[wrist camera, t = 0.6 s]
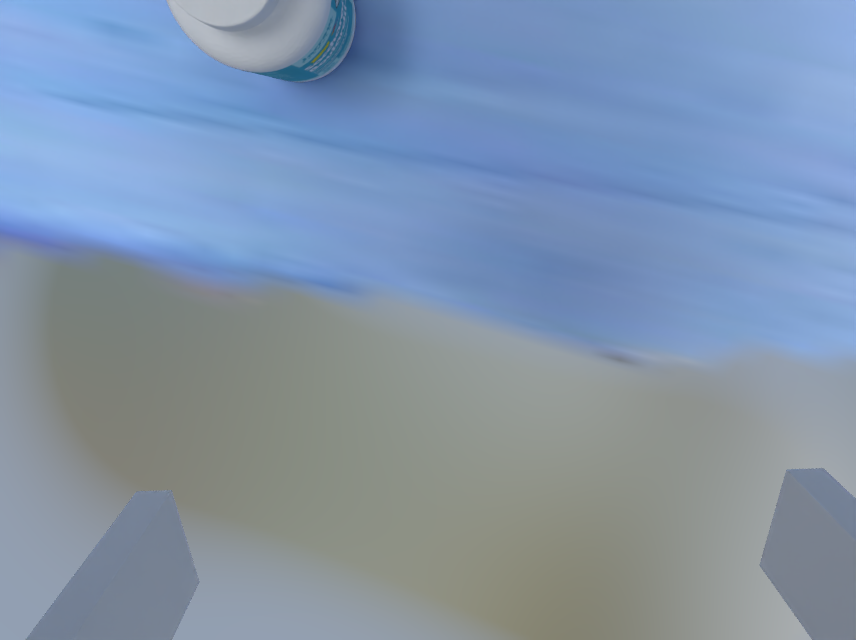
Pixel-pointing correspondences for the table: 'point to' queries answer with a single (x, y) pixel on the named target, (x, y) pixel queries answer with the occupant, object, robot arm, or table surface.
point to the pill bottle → (271, 34)
